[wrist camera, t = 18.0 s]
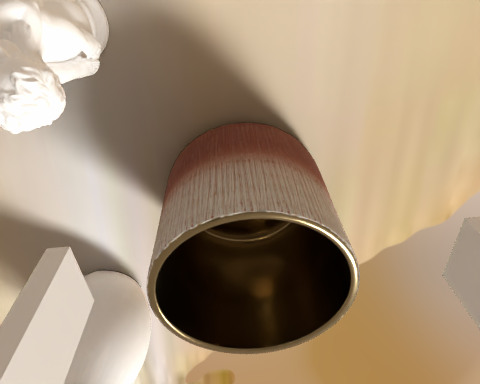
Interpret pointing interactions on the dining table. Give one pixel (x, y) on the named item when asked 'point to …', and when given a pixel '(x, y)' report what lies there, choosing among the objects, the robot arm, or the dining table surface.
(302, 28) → the dining table surface
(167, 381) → the dining table surface
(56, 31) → the cherub figurine
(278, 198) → the planter
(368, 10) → the dining table surface
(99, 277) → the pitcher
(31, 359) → the robot arm
